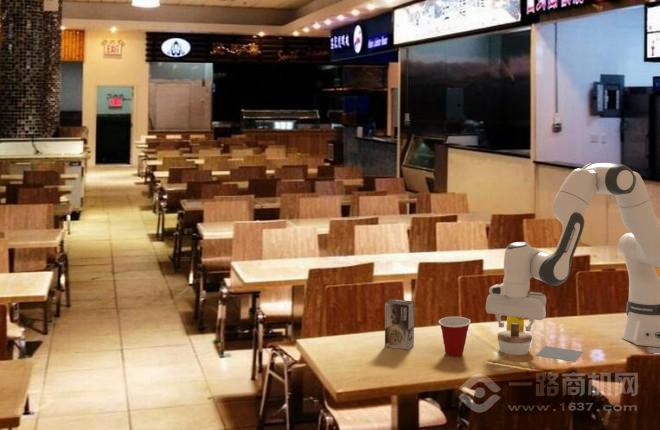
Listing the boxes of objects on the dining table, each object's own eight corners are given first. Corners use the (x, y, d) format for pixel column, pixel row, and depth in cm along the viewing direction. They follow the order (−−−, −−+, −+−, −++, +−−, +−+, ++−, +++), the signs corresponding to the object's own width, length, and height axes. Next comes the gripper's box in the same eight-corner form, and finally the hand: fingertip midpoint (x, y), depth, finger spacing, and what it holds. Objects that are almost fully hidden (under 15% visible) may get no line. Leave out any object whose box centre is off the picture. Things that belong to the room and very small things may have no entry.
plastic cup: (431, 353, 263) (431, 319, 262) (453, 347, 270) (453, 314, 268) (454, 361, 255) (455, 326, 253) (476, 355, 261) (477, 321, 260)
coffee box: (414, 345, 272) (415, 301, 270) (408, 350, 267) (409, 304, 265) (390, 342, 276) (391, 298, 274) (383, 346, 270) (384, 302, 268)
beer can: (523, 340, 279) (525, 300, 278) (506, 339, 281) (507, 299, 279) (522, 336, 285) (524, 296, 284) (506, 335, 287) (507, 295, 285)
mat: (583, 353, 265) (583, 351, 264) (574, 363, 253) (574, 361, 253) (545, 347, 271) (545, 345, 271) (535, 357, 260) (535, 355, 260)
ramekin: (492, 354, 263) (493, 339, 263) (503, 346, 273) (503, 331, 272) (524, 359, 257) (525, 344, 257) (534, 351, 267) (535, 336, 266)
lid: (535, 336, 267) (536, 322, 266) (526, 344, 257) (527, 330, 256) (503, 331, 272) (503, 318, 272) (493, 339, 262) (493, 325, 262)
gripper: (549, 291, 260) (547, 331, 262) (490, 284, 270) (489, 323, 272) (544, 294, 255) (542, 335, 256) (484, 288, 265) (483, 327, 266)
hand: (514, 329), depth 264 cm, fingers open, 8 cm apart
